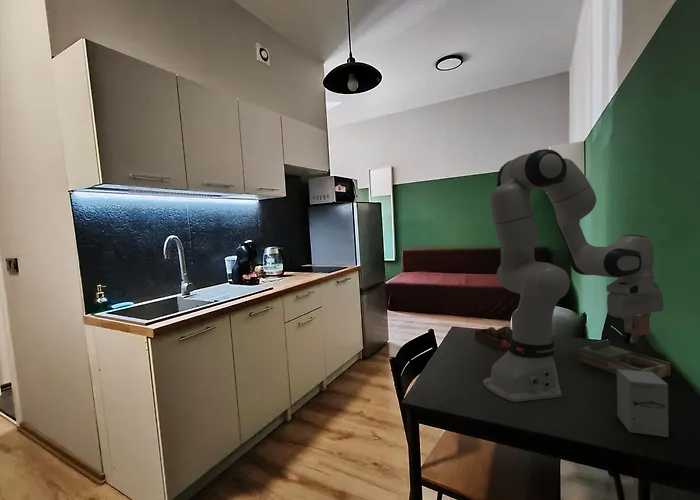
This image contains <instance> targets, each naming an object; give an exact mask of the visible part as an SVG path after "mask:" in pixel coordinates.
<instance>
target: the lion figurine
mask: <svg viewBox="0 0 700 500" xmlns="http://www.w3.org/2000/svg"><path fill="white" fill-rule="evenodd" d="M487 335H489V336H492V337H494V338H497V339H499V340H502V339H508V338H511V337H512V328H511V327H510V326H508V325H506V326H502V327H500V328H497V329H496V328H495V327H493V326H489V327H488V333H487Z"/></svg>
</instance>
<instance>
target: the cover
mask: <svg viewBox="0 0 700 500" xmlns="http://www.w3.org/2000/svg"><path fill="white" fill-rule="evenodd" d="M609 345H610V340H609V339H606V338H605V339H602V340H601V339H600V340H596V341H592V342H589V344H588V345H587V346H582V347H580V350H584V351H587V352H590V353H593V354H596V355H599V356H602V357H605V358H608V359H613V358H618V357H622V356H627V355H631V352H629V351H630V350H629V351H625V350H626V349H625V350H622V349H623V348H622V349H618V348H619V347H618V348H615V347H616V346H615V347H612V346H613V345H611V346H609Z"/></svg>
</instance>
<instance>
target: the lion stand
mask: <svg viewBox="0 0 700 500" xmlns="http://www.w3.org/2000/svg"><path fill="white" fill-rule="evenodd" d="M488 328H489V327H488ZM488 328H481V329H476V330H474V341H475V340H477V341H476V342H478V341H479V342H478V343H480V342H481V343H480V344H482V343H483V345H484V344H485V345H484V346H486V345H488V346H487V347H489V346H490V347H489V348H491V347H492V348H491V349H493V348H494V349H493V350H495V349H496V351H497V352H499V353H502V352H505V351H506V352H507V351H508V348H506V347H503V346H502V344H501V342H502V341H503V340H505V341H507V342H509V343H510V340H511V338H512V336H511V338H508V339H502V340H499V339H497V338H494V337H492V336H489V335H487V333H488Z"/></svg>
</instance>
